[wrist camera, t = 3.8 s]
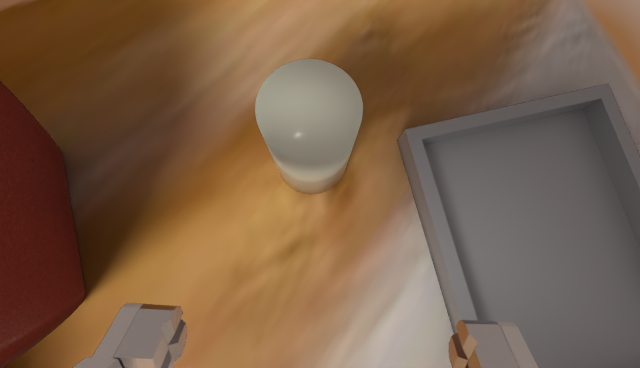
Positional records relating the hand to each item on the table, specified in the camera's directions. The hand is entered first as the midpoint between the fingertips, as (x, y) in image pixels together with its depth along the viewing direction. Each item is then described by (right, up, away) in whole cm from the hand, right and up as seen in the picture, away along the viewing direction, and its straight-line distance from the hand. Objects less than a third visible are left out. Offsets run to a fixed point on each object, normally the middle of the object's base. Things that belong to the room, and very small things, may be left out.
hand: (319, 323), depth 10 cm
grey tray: (+17, -1, +16) cm, 23 cm away
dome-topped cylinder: (-1, +6, +17) cm, 18 cm away
